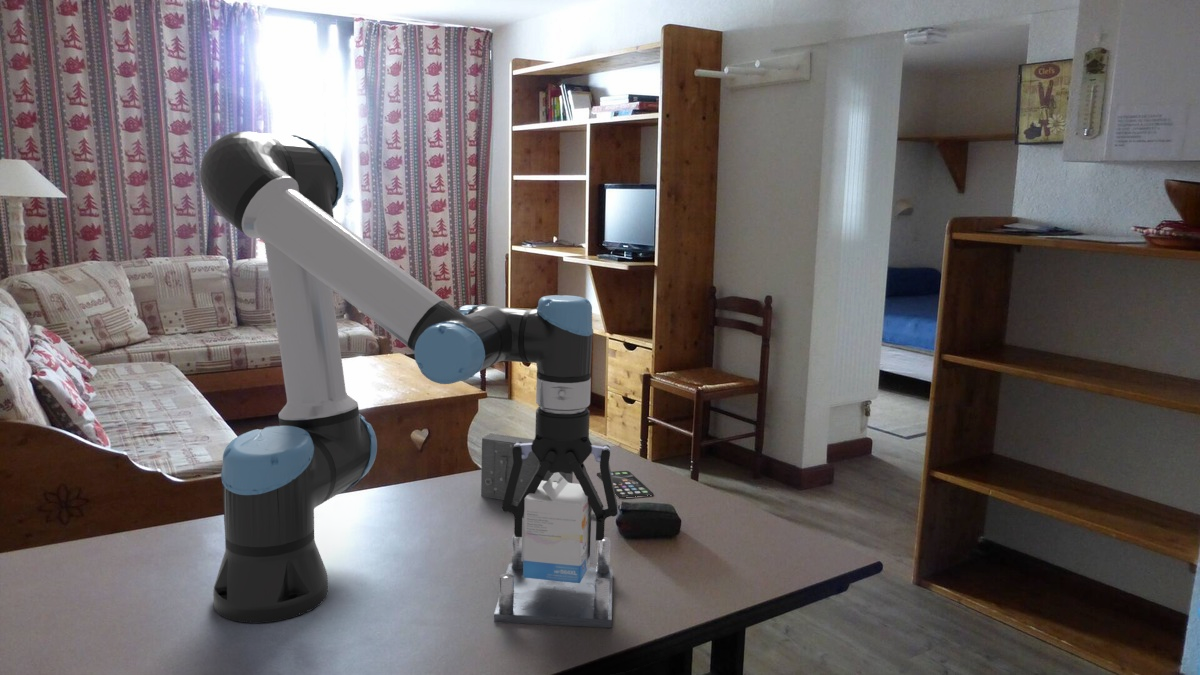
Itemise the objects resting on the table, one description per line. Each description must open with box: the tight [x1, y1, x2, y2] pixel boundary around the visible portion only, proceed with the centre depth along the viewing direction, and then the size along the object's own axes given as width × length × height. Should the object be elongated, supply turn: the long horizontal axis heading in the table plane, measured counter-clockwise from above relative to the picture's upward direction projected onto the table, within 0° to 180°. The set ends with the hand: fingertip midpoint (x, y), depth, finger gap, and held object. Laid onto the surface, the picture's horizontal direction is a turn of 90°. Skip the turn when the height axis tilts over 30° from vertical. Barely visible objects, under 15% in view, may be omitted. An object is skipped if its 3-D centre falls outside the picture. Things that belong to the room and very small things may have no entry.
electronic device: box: [480, 433, 574, 503], centre depth 160 cm, size 17×7×20 cm, turn 71°
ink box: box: [523, 472, 594, 583], centre depth 123 cm, size 9×8×13 cm
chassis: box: [493, 533, 614, 629], centre depth 125 cm, size 16×16×6 cm
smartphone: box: [596, 470, 655, 499], centre depth 173 cm, size 7×1×15 cm
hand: (558, 558), depth 124 cm, fingers closed on ink box, 9 cm apart
